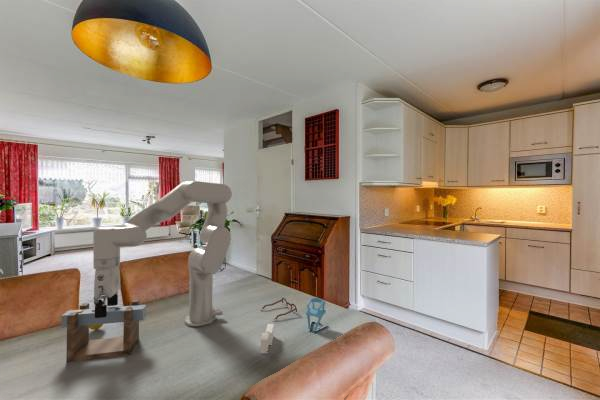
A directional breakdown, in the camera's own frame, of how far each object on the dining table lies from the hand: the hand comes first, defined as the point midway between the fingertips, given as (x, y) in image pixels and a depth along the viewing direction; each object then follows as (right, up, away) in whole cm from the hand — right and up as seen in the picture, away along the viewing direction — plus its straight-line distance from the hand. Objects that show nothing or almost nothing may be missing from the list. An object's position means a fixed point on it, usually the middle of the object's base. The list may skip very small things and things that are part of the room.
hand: (106, 311), depth 94 cm
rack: (-1, -14, 0) cm, 14 cm away
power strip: (0, -4, 0) cm, 4 cm away
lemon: (-14, -13, +13) cm, 23 cm away
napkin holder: (+55, -16, +6) cm, 57 cm away
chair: (+74, -15, +19) cm, 78 cm away
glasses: (+57, -15, +33) cm, 68 cm away
